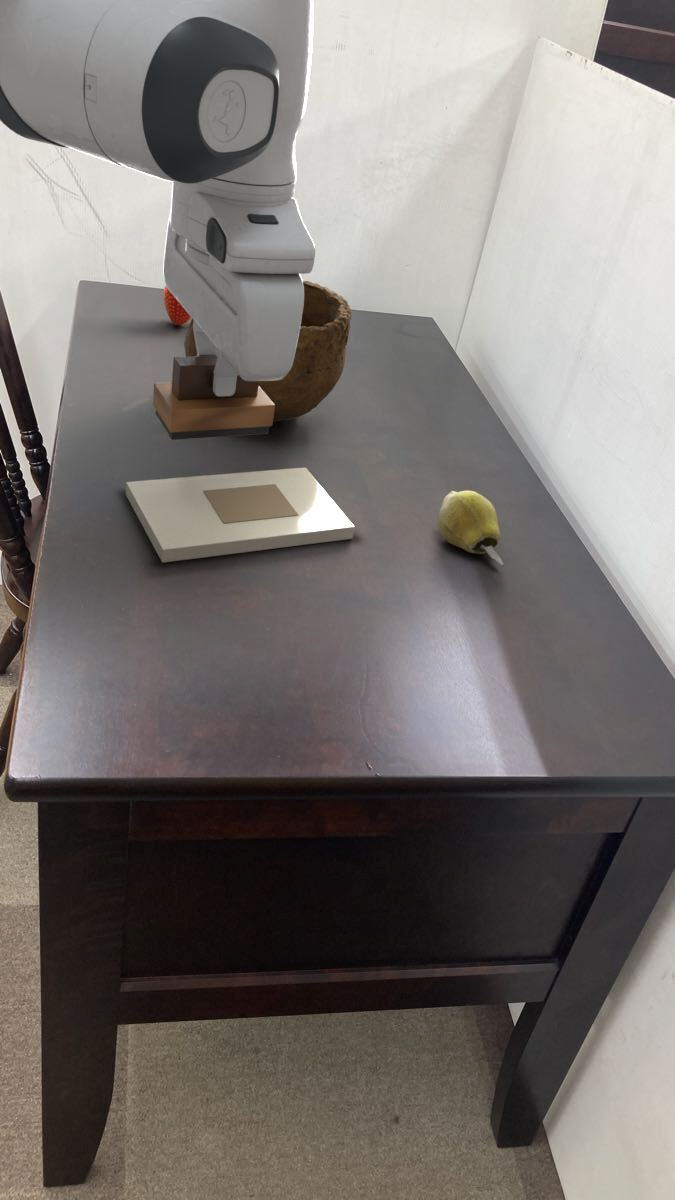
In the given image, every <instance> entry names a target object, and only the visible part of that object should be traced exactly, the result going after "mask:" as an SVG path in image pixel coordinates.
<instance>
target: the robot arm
mask: <svg viewBox="0 0 675 1200" xmlns="http://www.w3.org/2000/svg"><path fill="white" fill-rule="evenodd" d="M313 36H314V0H0V122H1V123H2V124H3V125H5V127H7V128H8V129H9V130H11V132H13V133H15V134H17V135H18V136H20V137H22V138H25V139H27V140H31V141H35V142H39V143H44V144H48V145H51V146H57V147H60V148H66V149H72V150H75V151H77V152H80V153H83V154H85V155H88V156H91V157H94V158H97V159H99V160H103V161H105V162H107V163H111V164H114V165H116V166H119V167H122V168H127V169H131V170H133V171H136V172H139V173H141V174H145V175H147V176H150V177H154V178H156V179H159V180H163V181H166V182H171V183H172V184H171V199H170V211H169V215H168V221H167V226H166V227H167V229H166V236H165V244H164V255H163V265H162V266H163V267H162V268H163V269H162V271H163V272H162V273H163V279H164V285H165V286H166V287H167V288H168V290H169V291H170V292H171V293H172V294H173V296H174V297H175V298H176V299H177V300H178V302H179V303H180V304H181V305H182V307H183V308H184V309H185V310H186V311H187V313H188V314H189V315H190V316H191V317H192V318H191V320H192V319H193V331H194V337H195V344H196V350H197V356H217V357H218V359H217V362H216V366H215V369H210V381H209V386H210V388H211V389H212V391H213V392H214V393H215V395H217V396H218V397H220V396H232V395H233V394H234V393H235V389H236V381H237V376H238V375H239V376H240V377H241V378H242V379H243V380H245V381H274V380H281V379H283V378H284V377H285V376H286V375H287V374H288V372H289V371H290V369H291V367H292V365H293V361H294V357H295V352H296V348H297V343H298V337H299V332H300V326H301V319H302V313H303V306H304V285H303V281H304V280H303V277H302V276H301V275H305V274H306V275H307V274H311V273H312V271H313V269H314V265H315V261H316V260H315V259H316V245H315V242H314V240H313V238H312V236H311V235H310V233H309V231H308V229H307V227H306V225H305V223H304V221H303V218H302V216H301V212H300V208H299V204H298V202H297V199H296V198H295V191H296V183H297V177H298V176H297V175H298V169H297V161H296V142H297V137H298V133H299V129H300V126H301V124H302V123H303V120H304V117H305V114H306V110H307V103H308V102H307V101H308V94H309V86H310V76H311V66H312V53H313V39H314V38H313Z"/></svg>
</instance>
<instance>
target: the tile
mask: <svg viewBox="0 0 675 1200" xmlns="http://www.w3.org/2000/svg"><path fill="white" fill-rule="evenodd" d="M125 496H126V498H127V499H128V501H129V503H130V505H131V507H132V509H133V511H134V513H135V514H136V517H137V519H138V520H139V522H140V524H141V526H142V527H143V529H144V532H145V533H146V535H147V537H148V539H149V540H150V542H151V544H152V547H153V549H154V551H155V552H156V553H157V556H158V557H159V560H160V562H161V563H171V562H179V561H187V560H194V559H203V558H210V557H211V558H212V557H219V556H225V555H226V556H227V555H234V554H243V553H251V552H256V551H259V552H260V551H266V550H275V549H282V548H289V547H296V546H305V545H313V544H321V543H330V542H337V541H345V540H352V539H353V537H354V533H355V529H356V527H355V524H353V523H352V522H351V520H350V519H349V518H348V516H347V515H346V514H345V513H344V512H343V510H342V509H341V508H340V506H338V505H337V503H336V502H335V501H334V499H333V498H332V497H331V496H330V495H329V494H328V492H327V491H326V490H325V489H324V487H323V486H322V485H321V483H319V482H318V480H317V479H316V478H315V477H314V476H313V474H312V473H311V472H310V471H309V469H308V468H307V467H294V468H281V469H270V470H269V469H268V470H257V471H245V472H233V473H221V474H209V475H196V476H195V475H194V476H184V477H173V478H161V479H148V480H138V481H137V480H136V481H126V483H125Z"/></svg>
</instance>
